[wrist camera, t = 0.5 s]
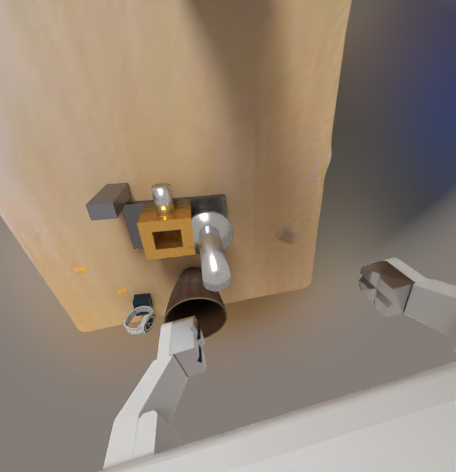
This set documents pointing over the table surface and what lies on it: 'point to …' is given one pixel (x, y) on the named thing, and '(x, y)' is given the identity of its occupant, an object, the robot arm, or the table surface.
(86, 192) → the table surface
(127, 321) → the watch
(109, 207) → the grey square rod
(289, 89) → the table surface
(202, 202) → the gold block fixture
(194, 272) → the plant pot
